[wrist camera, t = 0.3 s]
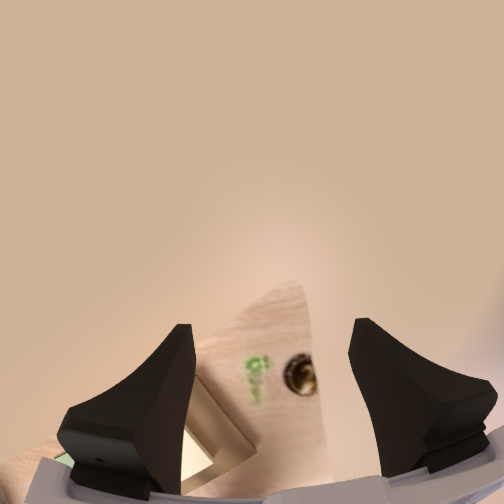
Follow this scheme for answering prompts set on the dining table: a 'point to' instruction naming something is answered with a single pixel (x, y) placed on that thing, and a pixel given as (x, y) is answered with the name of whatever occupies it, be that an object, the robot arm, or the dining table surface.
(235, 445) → the board
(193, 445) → the tile
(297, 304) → the dining table surface
